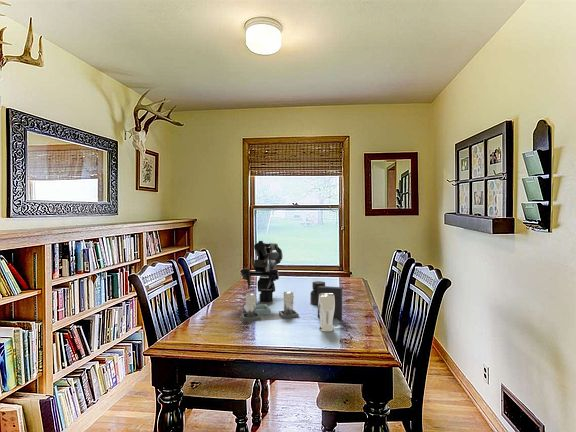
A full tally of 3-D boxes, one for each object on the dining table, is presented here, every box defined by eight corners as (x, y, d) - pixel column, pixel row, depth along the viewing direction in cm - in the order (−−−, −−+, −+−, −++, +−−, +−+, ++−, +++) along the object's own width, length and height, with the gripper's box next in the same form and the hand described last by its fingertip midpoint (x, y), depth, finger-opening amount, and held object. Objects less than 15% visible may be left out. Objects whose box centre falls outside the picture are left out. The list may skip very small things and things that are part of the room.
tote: (266, 309, 208) (266, 304, 208) (270, 315, 197) (270, 309, 197) (244, 311, 205) (244, 305, 205) (247, 316, 194) (247, 311, 194)
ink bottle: (331, 304, 218) (331, 282, 218) (320, 307, 212) (320, 284, 212) (316, 301, 225) (316, 280, 225) (306, 304, 219) (306, 282, 218)
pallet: (295, 314, 199) (295, 309, 199) (300, 320, 189) (300, 314, 189) (239, 318, 192) (239, 312, 192) (242, 324, 182) (242, 318, 182)
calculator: (342, 319, 191) (342, 286, 190) (340, 321, 187) (340, 288, 186) (319, 317, 194) (319, 285, 194) (317, 319, 190) (317, 287, 190)
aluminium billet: (254, 316, 191) (254, 293, 191) (256, 319, 187) (256, 295, 186) (245, 317, 190) (245, 293, 190) (246, 319, 186) (246, 295, 185)
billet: (292, 314, 195) (291, 291, 195) (294, 316, 191) (294, 293, 191) (282, 314, 194) (282, 291, 194) (285, 317, 190) (285, 293, 190)
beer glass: (317, 327, 177) (317, 292, 177) (333, 327, 178) (333, 292, 178) (319, 332, 170) (319, 296, 170) (336, 331, 171) (336, 296, 171)
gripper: (241, 253, 209) (236, 278, 199) (277, 253, 207) (274, 279, 196) (245, 265, 218) (240, 291, 207) (280, 266, 215) (277, 292, 204)
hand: (257, 288), depth 204 cm, fingers open, 9 cm apart
